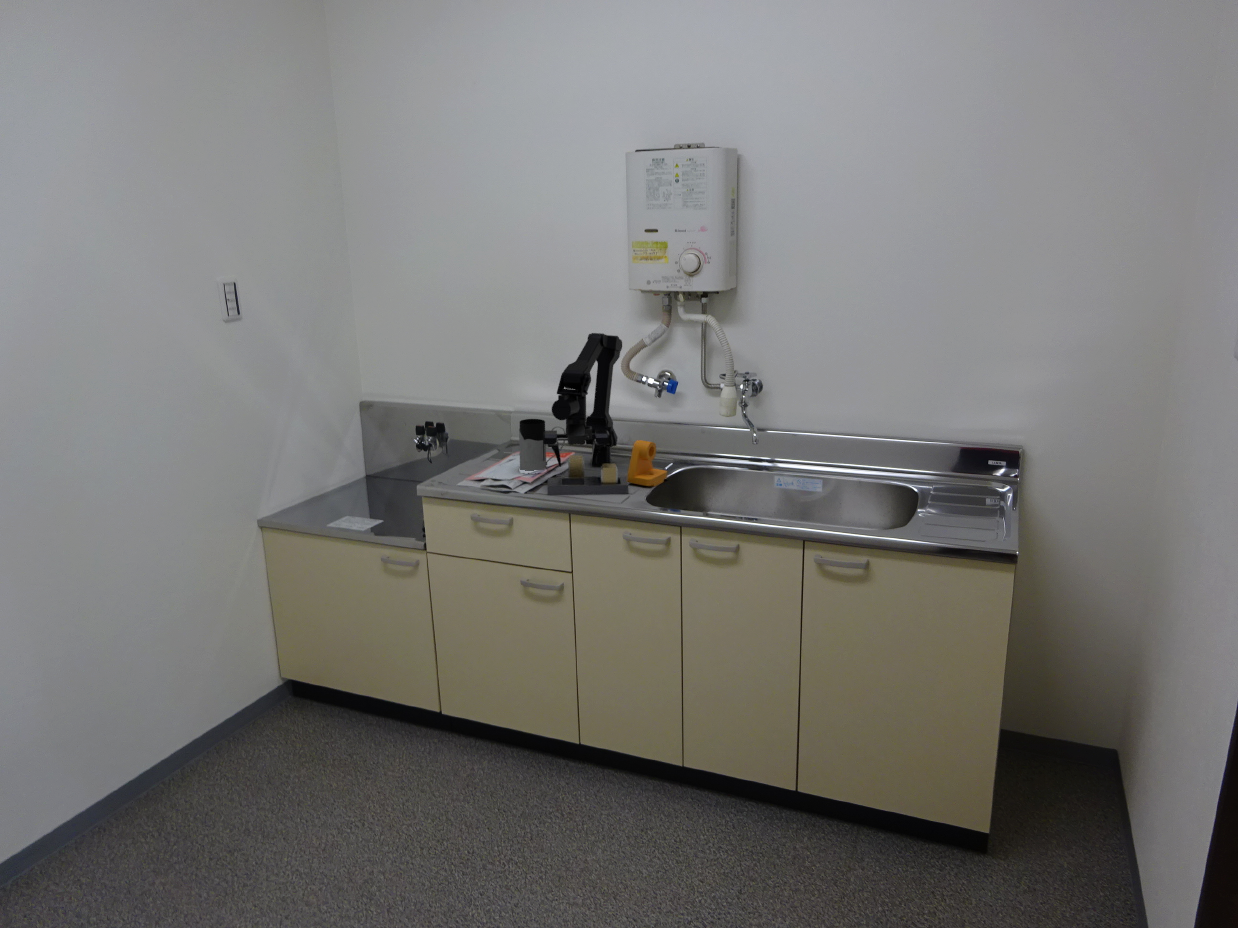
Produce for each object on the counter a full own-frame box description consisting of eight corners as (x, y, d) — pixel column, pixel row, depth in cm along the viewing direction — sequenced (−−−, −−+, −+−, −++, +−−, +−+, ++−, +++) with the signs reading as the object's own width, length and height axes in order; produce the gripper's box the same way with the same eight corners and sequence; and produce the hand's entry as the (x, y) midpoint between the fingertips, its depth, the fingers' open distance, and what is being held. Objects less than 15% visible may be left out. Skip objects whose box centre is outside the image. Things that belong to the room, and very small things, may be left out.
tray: (548, 486, 246) (547, 477, 245) (626, 485, 247) (626, 476, 246) (547, 494, 238) (547, 486, 237) (628, 493, 239) (628, 485, 239)
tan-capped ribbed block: (600, 487, 245) (600, 463, 243) (616, 487, 245) (616, 463, 243) (601, 492, 241) (601, 468, 239) (617, 492, 241) (617, 467, 239)
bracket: (649, 489, 244) (650, 447, 241) (627, 484, 248) (627, 444, 245) (668, 479, 253) (669, 439, 250) (646, 476, 257) (647, 436, 253)
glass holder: (521, 466, 265) (520, 418, 261) (567, 467, 265) (567, 419, 261) (516, 474, 257) (514, 424, 253) (564, 475, 256) (563, 425, 252)
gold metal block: (568, 478, 253) (568, 455, 251) (583, 478, 253) (583, 455, 251) (568, 483, 249) (568, 459, 247) (584, 483, 249) (584, 459, 247)
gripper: (542, 419, 237) (542, 474, 242) (610, 419, 238) (610, 474, 243) (543, 411, 248) (543, 463, 252) (608, 410, 249) (608, 463, 253)
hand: (576, 466), depth 250 cm, fingers open, 9 cm apart
